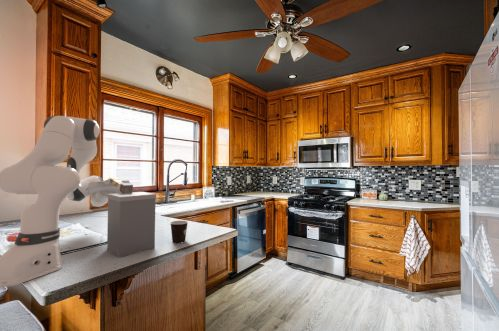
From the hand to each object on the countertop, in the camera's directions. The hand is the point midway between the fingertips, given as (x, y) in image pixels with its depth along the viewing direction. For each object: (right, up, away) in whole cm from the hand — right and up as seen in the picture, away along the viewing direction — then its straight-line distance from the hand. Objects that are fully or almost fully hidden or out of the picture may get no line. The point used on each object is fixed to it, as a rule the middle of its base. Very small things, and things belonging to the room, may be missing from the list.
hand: (114, 179), depth 129 cm
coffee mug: (+34, -33, -3) cm, 47 cm away
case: (+16, -32, -15) cm, 39 cm away
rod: (+5, -4, -4) cm, 7 cm away
